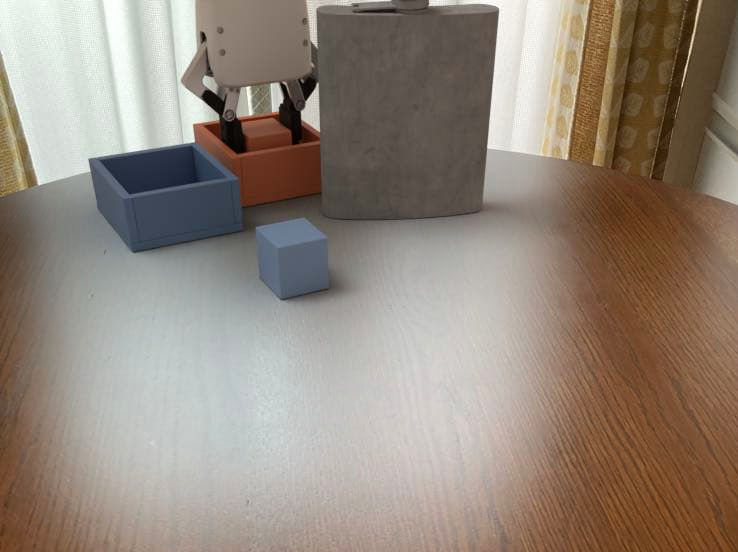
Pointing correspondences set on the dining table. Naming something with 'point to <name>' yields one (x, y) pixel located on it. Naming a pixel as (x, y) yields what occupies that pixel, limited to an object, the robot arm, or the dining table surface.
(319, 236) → the blue block
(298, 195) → the terracotta bin
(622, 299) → the dining table surface
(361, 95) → the hip flask
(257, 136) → the terracotta block
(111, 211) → the blue bin
